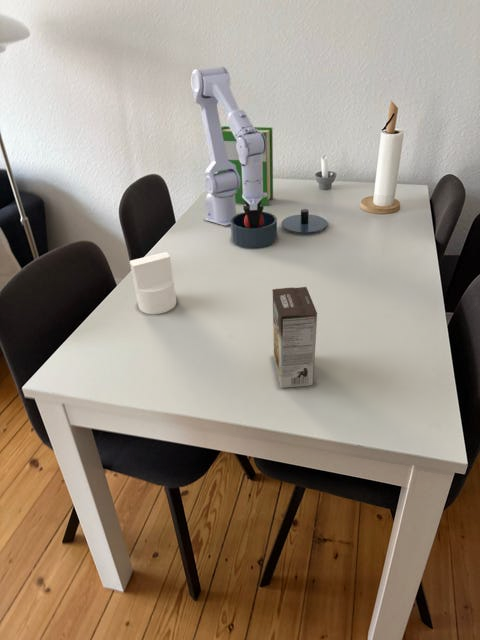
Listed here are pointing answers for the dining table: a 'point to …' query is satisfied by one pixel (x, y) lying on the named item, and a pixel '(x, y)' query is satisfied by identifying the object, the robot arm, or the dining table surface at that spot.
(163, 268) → the base with upright slab
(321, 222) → the pot lid
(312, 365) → the coffee box
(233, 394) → the dining table surface
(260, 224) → the red round fruit
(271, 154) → the hardback book
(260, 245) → the pot
